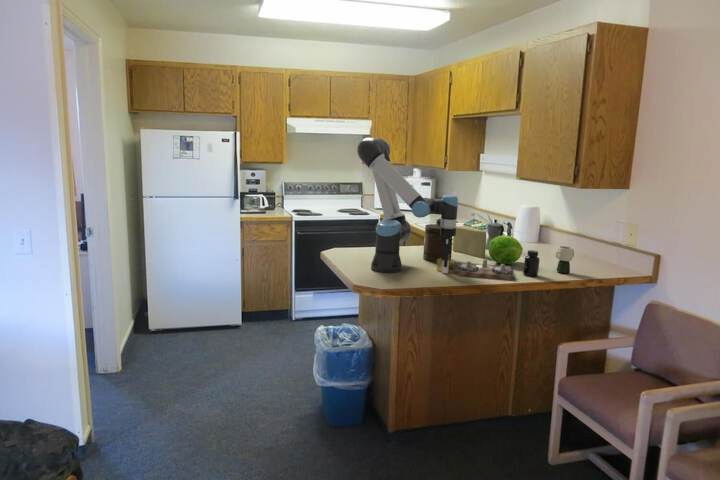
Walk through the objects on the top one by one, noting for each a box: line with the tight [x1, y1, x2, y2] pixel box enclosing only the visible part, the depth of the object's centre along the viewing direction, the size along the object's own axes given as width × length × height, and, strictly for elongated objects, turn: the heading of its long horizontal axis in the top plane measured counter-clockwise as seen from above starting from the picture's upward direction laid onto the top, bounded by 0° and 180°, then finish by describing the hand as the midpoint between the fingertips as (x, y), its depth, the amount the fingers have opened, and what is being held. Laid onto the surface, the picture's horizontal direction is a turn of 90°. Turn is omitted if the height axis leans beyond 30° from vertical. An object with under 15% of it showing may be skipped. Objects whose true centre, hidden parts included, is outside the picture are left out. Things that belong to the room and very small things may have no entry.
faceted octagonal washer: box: [436, 258, 455, 273], centre depth 253 cm, size 8×8×5 cm
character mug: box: [555, 245, 575, 274], centre depth 256 cm, size 11×7×13 cm, turn 109°
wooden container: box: [422, 218, 453, 263], centre depth 273 cm, size 15×15×22 cm
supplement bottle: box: [522, 249, 540, 278], centre depth 248 cm, size 7×7×12 cm
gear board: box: [456, 258, 515, 281], centre depth 250 cm, size 26×20×6 cm
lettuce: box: [487, 234, 524, 265], centre depth 271 cm, size 17×20×15 cm
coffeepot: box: [486, 219, 505, 251], centre depth 305 cm, size 15×9×18 cm, turn 19°
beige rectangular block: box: [452, 225, 487, 259], centre depth 291 cm, size 22×10×15 cm, turn 29°
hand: (445, 269), depth 253 cm, fingers open, 13 cm apart
